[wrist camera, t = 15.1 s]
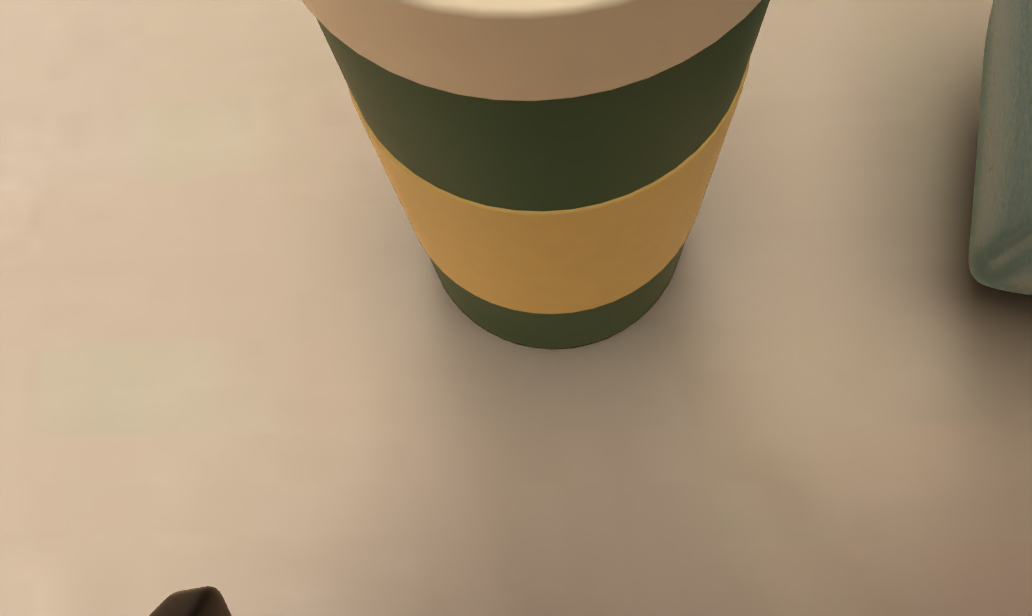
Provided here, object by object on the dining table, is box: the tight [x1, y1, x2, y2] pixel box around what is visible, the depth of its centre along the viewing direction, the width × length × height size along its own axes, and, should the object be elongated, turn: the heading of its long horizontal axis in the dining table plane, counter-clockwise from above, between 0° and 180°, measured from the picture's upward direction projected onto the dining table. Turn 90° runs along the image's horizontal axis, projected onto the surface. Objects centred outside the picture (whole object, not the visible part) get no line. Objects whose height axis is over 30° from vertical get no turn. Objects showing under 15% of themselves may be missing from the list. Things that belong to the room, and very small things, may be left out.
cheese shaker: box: [302, 0, 770, 349], centre depth 14 cm, size 7×7×12 cm
